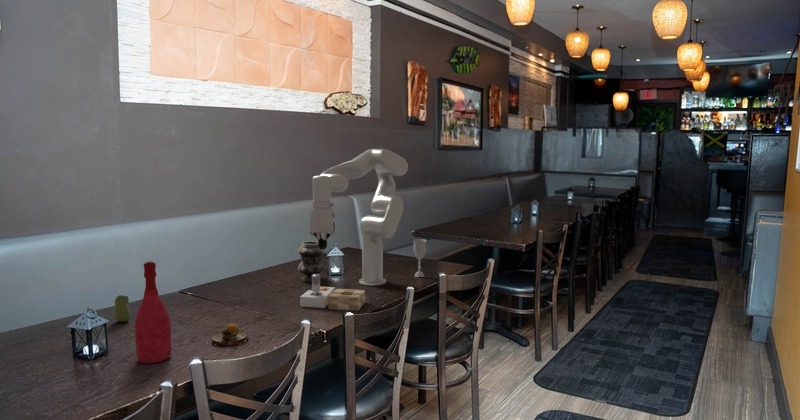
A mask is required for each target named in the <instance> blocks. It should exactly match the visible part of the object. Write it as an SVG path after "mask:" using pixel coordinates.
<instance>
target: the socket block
mask: <svg viewBox="0 0 800 420" xmlns="http://www.w3.org/2000/svg"><path fill="white" fill-rule="evenodd" d="M321 287H322V286H320V288H321ZM325 287H326V288H327V291H320V296H314V295H312V289H308V290H307V291H306V292H304V293H303V294H302V295H300V296H299V298H300V299H299V301H300V303H299V305H300V306H299V307H303V308H320V309H325V308H326V307H328V296H330V295H331V294H332V293H333V292H334V291H335V290H336V287H335V286H334V287H333V286H332V287H331V286H325Z"/></svg>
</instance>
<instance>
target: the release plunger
mask: <svg viewBox="0 0 800 420" xmlns="http://www.w3.org/2000/svg"><path fill="white" fill-rule="evenodd" d="M320 287H321V288H320V291H327V288H326V287H327V286H320Z"/></svg>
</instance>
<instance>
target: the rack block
mask: <svg viewBox="0 0 800 420" xmlns="http://www.w3.org/2000/svg"><path fill="white" fill-rule="evenodd" d="M365 303H366V290H365V289H348V288H335V291H334V292H333V293H332V294H331V295H330V296H328V305H327V307H328V310H338V311H339V310H341V311H342V310H343V311H356V312H358V311H359V310H360V309H361V308H362V307H363V305H364V304H365Z"/></svg>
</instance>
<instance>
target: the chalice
mask: <svg viewBox="0 0 800 420" xmlns="http://www.w3.org/2000/svg"><path fill="white" fill-rule="evenodd" d="M412 241H413V253H414V255H415V258H416V259H417V260H418V261H417V262H418V263H417V265H418V266H417V268H418V270H417V272H415V275H414V276H415V277H424V278H425V275H424V272H422V271H421V269H422V266H421V264H422V262H421V260H422V259H423V258H424V256H425V254H426V252H427V251H426V250H427V249H426V247H427V246H426V245H427V244H426V243H427V239H423V238H422V239H421V238H417V239H413V240H412ZM415 277H414V278H415Z"/></svg>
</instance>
